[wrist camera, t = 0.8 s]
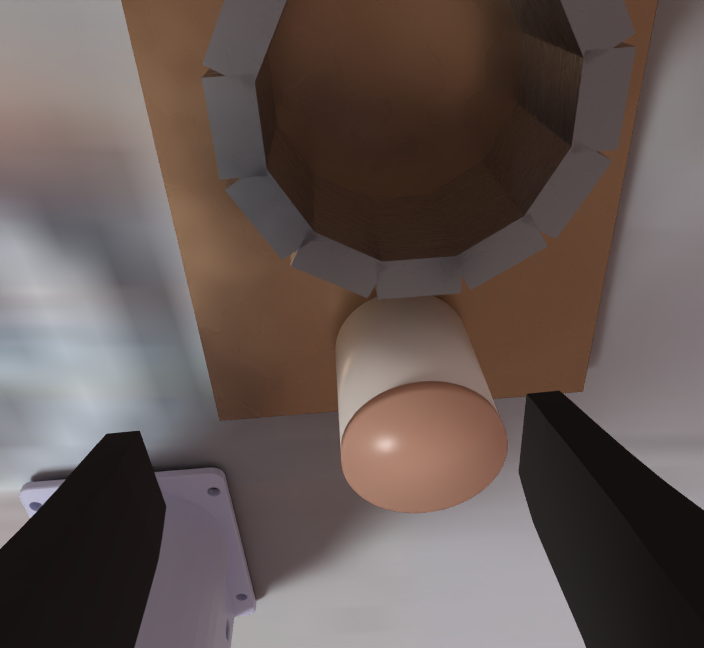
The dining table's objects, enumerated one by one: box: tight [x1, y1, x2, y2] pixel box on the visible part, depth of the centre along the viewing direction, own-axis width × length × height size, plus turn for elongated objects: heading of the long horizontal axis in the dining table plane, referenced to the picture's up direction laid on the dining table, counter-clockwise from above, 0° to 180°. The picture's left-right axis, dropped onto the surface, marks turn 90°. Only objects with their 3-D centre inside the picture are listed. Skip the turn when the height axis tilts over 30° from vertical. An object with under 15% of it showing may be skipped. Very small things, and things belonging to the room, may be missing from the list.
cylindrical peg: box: [335, 296, 508, 513], centre depth 18 cm, size 4×4×5 cm
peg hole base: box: [121, 0, 658, 421], centre depth 16 cm, size 15×13×5 cm
